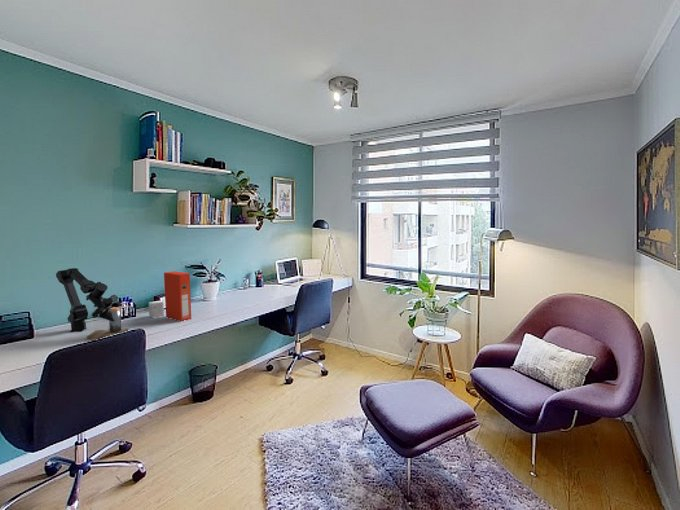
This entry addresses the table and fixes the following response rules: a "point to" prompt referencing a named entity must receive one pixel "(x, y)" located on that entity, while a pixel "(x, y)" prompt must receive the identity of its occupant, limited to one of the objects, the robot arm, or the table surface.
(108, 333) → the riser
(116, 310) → the cargo block
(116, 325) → the tin
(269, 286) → the table surface
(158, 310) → the small box
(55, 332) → the table surface
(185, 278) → the file binder
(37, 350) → the table surface
